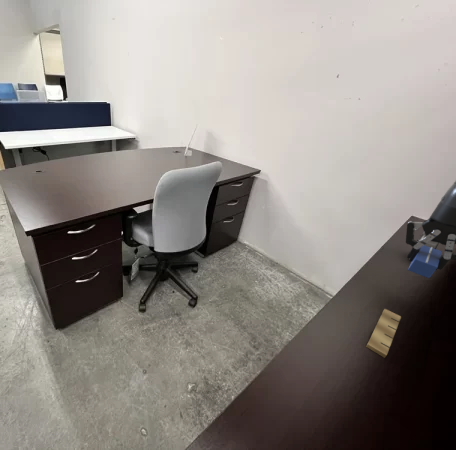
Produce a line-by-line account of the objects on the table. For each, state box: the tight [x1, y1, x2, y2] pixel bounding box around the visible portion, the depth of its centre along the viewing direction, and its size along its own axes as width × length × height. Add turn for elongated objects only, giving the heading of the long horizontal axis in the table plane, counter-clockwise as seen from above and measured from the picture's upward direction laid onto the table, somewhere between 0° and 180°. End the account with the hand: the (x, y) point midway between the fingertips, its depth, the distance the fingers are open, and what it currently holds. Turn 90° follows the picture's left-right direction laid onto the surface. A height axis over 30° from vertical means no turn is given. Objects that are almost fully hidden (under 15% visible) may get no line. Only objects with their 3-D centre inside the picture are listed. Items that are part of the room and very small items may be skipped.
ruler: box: [365, 308, 402, 359], centre depth 61 cm, size 18×4×1 cm, turn 129°
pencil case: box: [407, 246, 442, 279], centre depth 63 cm, size 12×4×4 cm, turn 129°
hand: (422, 264), depth 64 cm, fingers closed on pencil case, 4 cm apart
